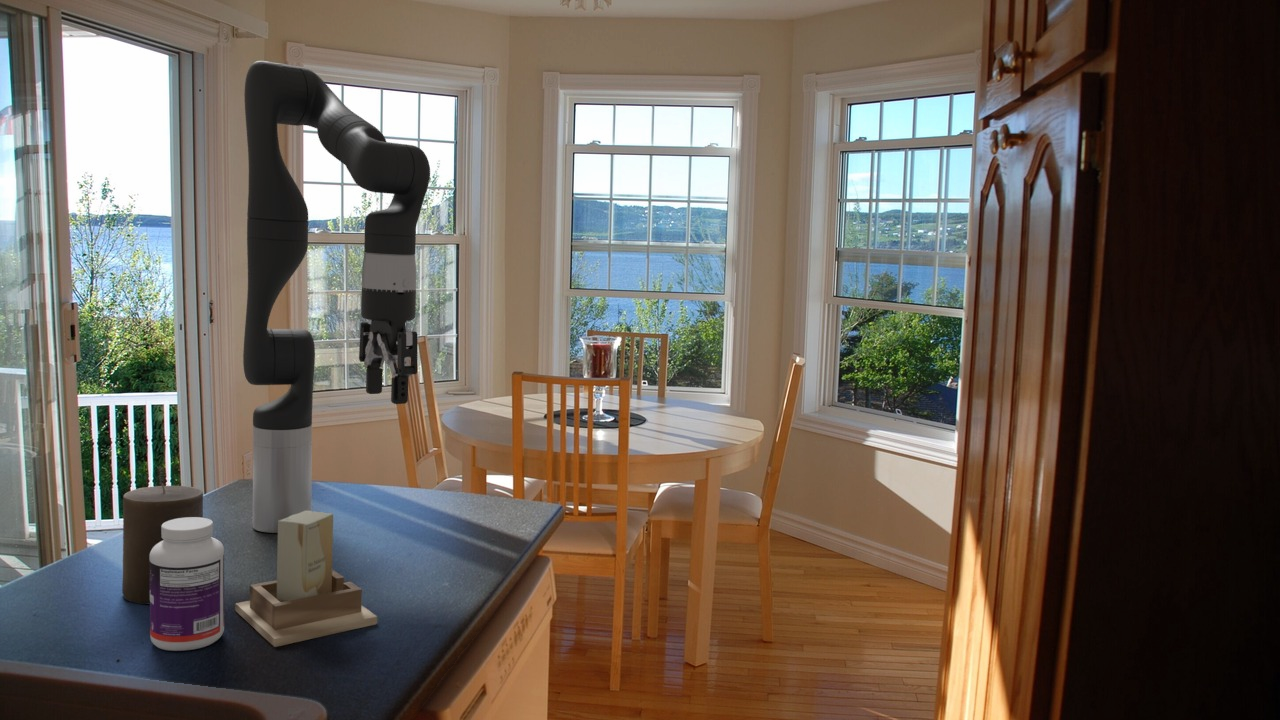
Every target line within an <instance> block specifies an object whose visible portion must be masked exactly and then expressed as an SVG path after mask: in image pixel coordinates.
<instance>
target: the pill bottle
mask: <svg viewBox="0 0 1280 720" xmlns="http://www.w3.org/2000/svg"><path fill="white" fill-rule="evenodd" d="M213 532H214V522H213V520H212V519H210V518H208V517H207V518H206V517H203V518H201V517H186V518H177V519H173V520H169V521H167V522H164V523H163V524H162V526H161V535H162V539H164V540H163V541H161V542H159V543H158V544H156V545H155V546H154V547H153V548H152V550H151V552H150V557H149V558H150V562H149V564H150V604H149V636H150V641H151V643H152V644H153V645H154V646H155V647H157V648H158V649H160V650H164V651H172V652H173V651H174V652H178V651H179V652H181V651H191V650H192V651H193V650H197V649H202V648H205V647H207V646H210V645H212V644H214V643H216V642H217V641H218V640H219V639H221V636H222V635H223V633H224V631H225V548H224V547H225V546H224V545H223V543H222V542H221V541H220V540H218V539H217V538H215V537H213V534H214V533H213Z"/></svg>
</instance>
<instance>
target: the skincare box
mask: <svg viewBox="0 0 1280 720" xmlns="http://www.w3.org/2000/svg"><path fill="white" fill-rule="evenodd" d="M333 534H334V514H333V513H328V512H321V511H314V510H311V511H307V510H306V511H303V512H301V513H298V514H294V515H291V516H289V517H287V518H285V519H282V520H279V521H278V533H277V547H276V549H277V551H276V552H277V554H276V555H277V557H276V559H277V560H276V562H277V563H276V568H277V569H276V580H277V600H278V601H280V602H285V601H290V600H295V599H300V598H306V597H311V596H316V595H321V594H326V593H331V592H332V570H333V543H334V540H333V538H334V535H333Z"/></svg>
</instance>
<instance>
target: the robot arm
mask: <svg viewBox="0 0 1280 720" xmlns="http://www.w3.org/2000/svg"><path fill="white" fill-rule="evenodd" d="M244 113H245V127H246V128H245V129H246V141H247V153H248V155H247V156H248V157H247V158H248V193H247V212H246V215H247V223H246V248H247V249H246V250H247V252H246V255H247V298H246V309H245V310H246V313H245V324H244V325H245V326H244V338H243V353H242V357H243V361H242V364H243V373H244V377H245V380H246V381H247V382H248V383H249V384H250V385H253V386H282V385H283V386H284V385H285V386H286V385H287V386H288V385H290V386H289V389H288V391H286V392H285V393H284V394H283V395H282V396H280V397H279V398H276V399H275V400H274V399H273V400H272V401H270V402H267V403H264V404H262V405H259V406H257V407H256V408H255V409H254V410H253V413H252V528H253V530H255V531H258V532H262V533H269V534H278V521H279V520H282V519H285V518H287V517H289V516H291V515H294V514H298V513H301V512H303V511H306V510H307V511H312V462H313V461H312V460H313V459H312V455H313V454H312V453H313V451H312V450H313V449H312V448H313V447H312V445H313V443H312V437H313V434H312V433H313V431H312V430H313V425H312V424H313V395H314V394H313V393H314V379H315V378H314V376H315V366H316V365H315V364H316V362H315V361H316V348H315V339H314V337H313V334H311V332H310V331H309V330H307V329H302V328H301V329H300V328H271V329H270V328H268V324H269V319H270V315H271V313H272V309H273V307H274V306H275V305H274V304H275V303H276V300H277V299H278V297H279V294H280V293H281V292H282V290H283V288H284V287H285V285H286V284H287V283H288V282H289V280H291V278H292V277H293V275H294V274H295V273H296V271H297V269H298V267H299V266H300V265H301V264H302V262H303V260H304V258H305V256H306V255H307V252H308V246H309V240H308V239H309V210H308V206H307V203H306V201H305V197H303V194H302V193H301V190H300V189H299V186H298V185H297V183H296V182H295V180H294V178H293V177H292V174H291V173H290V171H289V169H288V168H287V166H286V164H285V162H284V159H283V157H282V153H281V150H280V145H279V135H278V125H285V126H286V125H288V126H297V127H299V126H307V127H311V128H314V129H316V130H317V136H318V140H319V142H320V143H321V145H322V146H323V148H324V149H325V151H327V153H329V154H330V155H331V156H333V157H334V158H335V159H336V160H338V161H339V162H341V164H343V165H344V166H345V167H346V169H347V172H349V175H350V176H351V178H352V180H353V181H354V183H355V184H356V185H357V186H359V187H360V188H362V189H364V190H366V191H368V192H372V193H378V194H389V195H390V194H391V195H392V194H393V196H392V200H391V201H390V204H389V205H388V207H387V208H384V209H379V210H374V211H371V212H369V213H368V214H367V215H366V217H365V222H364V243H363V244H364V248H363V249H364V251H363V261H362V266H361V299H360V300H361V301H360V302H361V303H360V315H361V317H362V318H363V319H365V320H369V321H361V322H360V331H359V348H358V349H359V351H358V352H359V354H358V360H359V362H360V363H363V367H364V368H365V369H366V374H365V375H366V376H365V392H366V393H367V394H370V395H379V394H381V393H382V392H383V370H384V369H383V368H382V367H383V366H384V363H385V364H387V366H389V369H390V373H391V391H390V393H391V394H390V396H391V397H390V402H391V403H392V404H394V405H403V404H404V405H405V404H407V403H408V400H409V377H412V376H413V375H417V374H418V370H419V369H418V333H417V331H410V330H409V331H408V330H407V326H406V323H407V321H408V322H410V321H414V320H415V318H416V315H417V314H416V309H417V308H416V305H417V273H418V272H417V263H416V262H417V261H416V243H417V242H416V238H417V225H418V222H419V217H420V215H421V211H422V207H423V205H424V200H425V198H426V194H427V191H428V187H429V184H430V180H431V179H430V178H431V167H430V162H429V159H428V157H427V155H426V153H425V152H424V151H423V150H422V149H421V148H420V147H418V146H416V145H412V144H405V143H399V142H398V143H397V142H389V141H387V140H386V138H385V135H384V134H383V133H382V132H381V131H380V130H379V129H378V128H377V127H376V126H374V125H373V124H372V123H370V122H368V121H367V120H365V119H364V118H362V117H361V116H359V114H357V113H355V112H354V111H352V110H351V109H350V108H349V107H348V106H346V105H345V104H344V102H342V100H341V99H340V98H339V97H338V96H337V95H336V93H335V92H334V91H333V90H332V89H331V88H330V87H329V86H328V84H327V83H326V82H325V81H324V80H323V79H322V78H321V77H320V76H319V75H318V74H317V73H315V72H314V71H313V70H311V69H309V68H306V67H303V66H298V65H293V64H292V65H291V64H285V63H279V62H274V61H267V60H257V61H255V62H253V63H252V64H251V65H250V66H249V68H248V69H247V73H246V77H245V82H244ZM409 361H410V362H409Z"/></svg>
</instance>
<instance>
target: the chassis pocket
mask: <svg viewBox="0 0 1280 720" xmlns="http://www.w3.org/2000/svg"><path fill="white" fill-rule="evenodd" d="M362 589H363V588H360V587H359V586H357V585H356V584H354V583H353V582H352V581H347V582H345V577H344V576H343V575H341V574H340V573H338V572H337V571H336V570H334V569H332V592H331V593H326V594H321V595H316V596H311V597H306V598H300V599H295V600H290V601H285V602H280V601H278V600H277V579H276V580H269V581H266V582H264V581H263V582H259V583H253V584H250V585H249V600H245V601H240V602H236V603H235V606H234V607H235V608H234V609H235V612H236V613H237V614H238V615H239V616H240V617H242V618H243V619H244V620H245V621H246V623H248V624H249V625H250V626H251V627H252V628H254V629H255V631H256V632H257V633H258V634H259V635H261V636H262V637H263V638H264V639H265V640H266V641H267V642H268V643H269V644H270V645H271V646H273V647H274V648H278V647H281V646H286V645H289V644H293V643H299V642H303V641H308V640H311V639H317V638H321V637H326V636H330V635H334V634H339V633H344V632H349V631H352V630H357V629H360V628H366V627H370V626H375V625H378V615H376V614H375V613H373V612H371V610H369V609H368V608H366V607H365V606H363V605H362V601H363V600H362V598H363V597H362V595H363V593H362V592H363V591H362Z"/></svg>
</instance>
